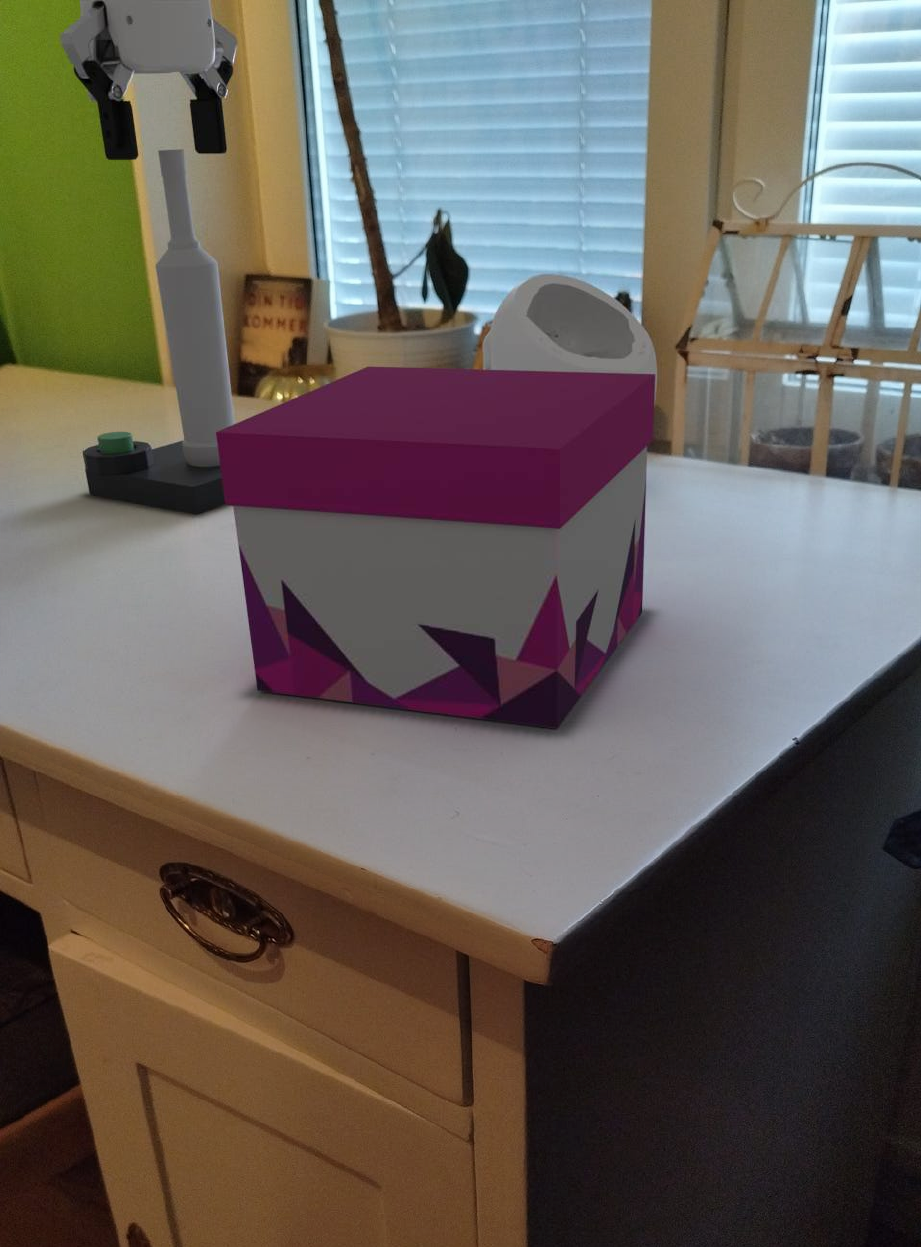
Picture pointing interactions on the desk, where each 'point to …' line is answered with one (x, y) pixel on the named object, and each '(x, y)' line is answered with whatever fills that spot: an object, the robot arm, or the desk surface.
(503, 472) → the decorative box
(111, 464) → the black push button box
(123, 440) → the button
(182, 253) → the bottle
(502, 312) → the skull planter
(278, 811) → the desk surface
